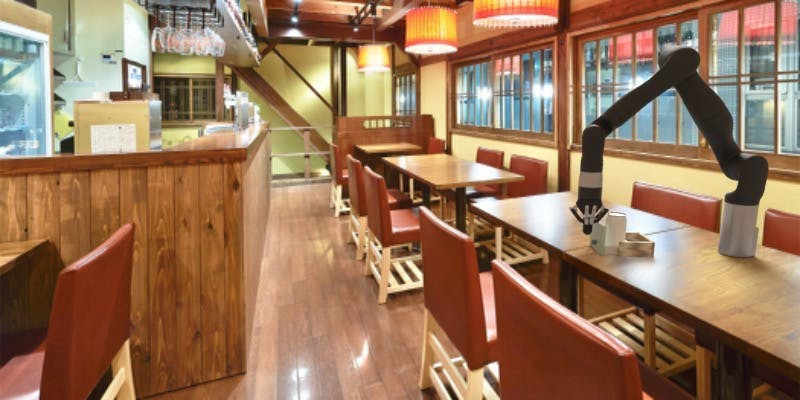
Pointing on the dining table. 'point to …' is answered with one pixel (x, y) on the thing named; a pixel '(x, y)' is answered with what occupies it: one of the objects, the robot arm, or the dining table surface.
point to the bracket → (601, 240)
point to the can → (615, 228)
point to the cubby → (636, 246)
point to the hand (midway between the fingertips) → (587, 234)
